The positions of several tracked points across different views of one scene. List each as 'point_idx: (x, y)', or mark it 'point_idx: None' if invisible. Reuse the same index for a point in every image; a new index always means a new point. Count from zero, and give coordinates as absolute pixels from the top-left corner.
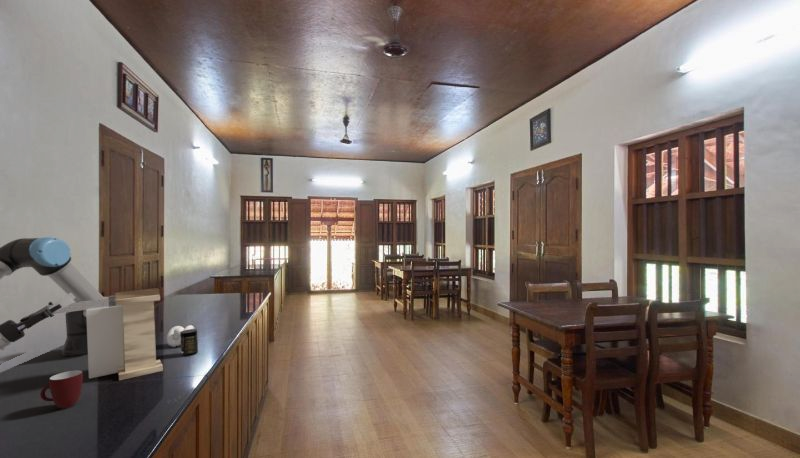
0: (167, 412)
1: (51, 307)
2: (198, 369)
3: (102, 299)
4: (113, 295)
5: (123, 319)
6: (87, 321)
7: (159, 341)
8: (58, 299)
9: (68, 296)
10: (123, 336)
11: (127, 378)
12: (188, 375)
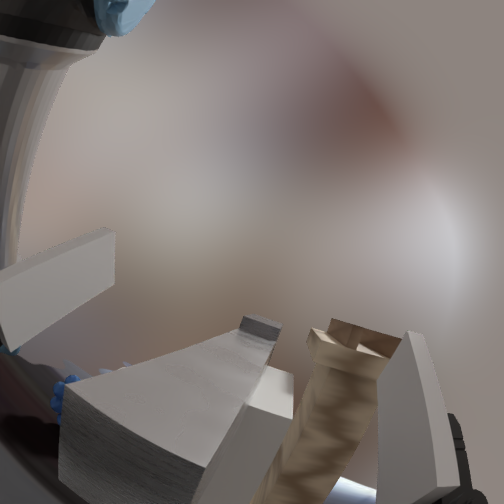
0: None
1: (446, 468)
2: (338, 485)
3: (246, 334)
4: (247, 315)
5: (364, 432)
6: (266, 471)
7: (57, 378)
8: (31, 259)
9: (95, 257)
10: (299, 478)
11: None
12: (361, 499)
